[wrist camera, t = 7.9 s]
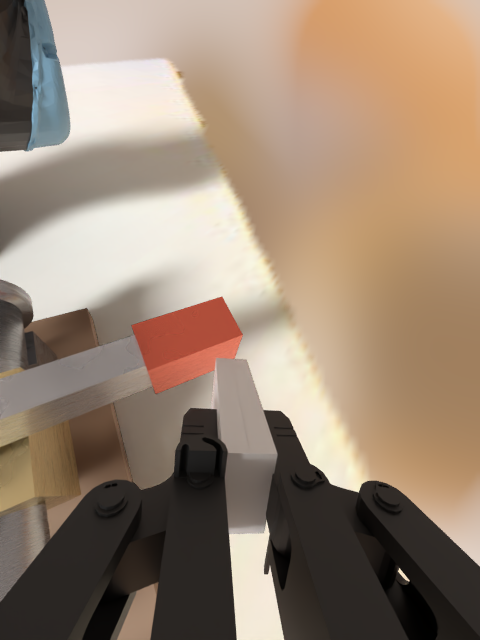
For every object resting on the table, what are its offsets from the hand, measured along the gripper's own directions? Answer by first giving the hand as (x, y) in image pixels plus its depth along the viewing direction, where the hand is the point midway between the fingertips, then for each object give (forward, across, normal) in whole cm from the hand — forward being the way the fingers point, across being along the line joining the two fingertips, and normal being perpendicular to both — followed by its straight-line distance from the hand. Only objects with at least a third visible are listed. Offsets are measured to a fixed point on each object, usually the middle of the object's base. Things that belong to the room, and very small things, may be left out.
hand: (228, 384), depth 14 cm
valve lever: (+2, -7, -2) cm, 8 cm away
